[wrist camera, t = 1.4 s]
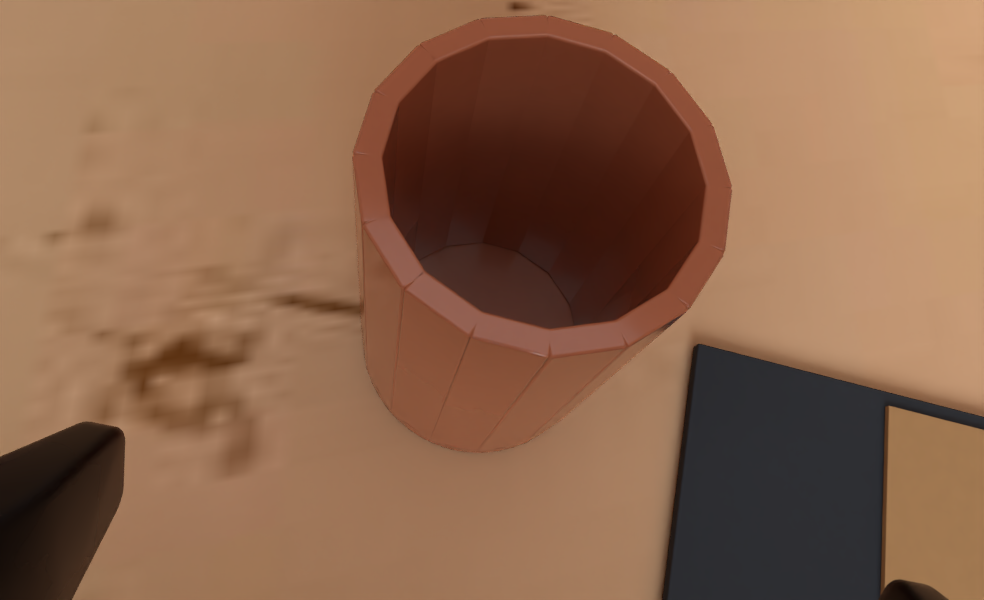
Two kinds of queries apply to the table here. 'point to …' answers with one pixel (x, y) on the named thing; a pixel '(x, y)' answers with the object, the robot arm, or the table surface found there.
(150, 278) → the table surface
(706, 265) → the cup
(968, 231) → the table surface
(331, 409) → the table surface
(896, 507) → the desk mat
